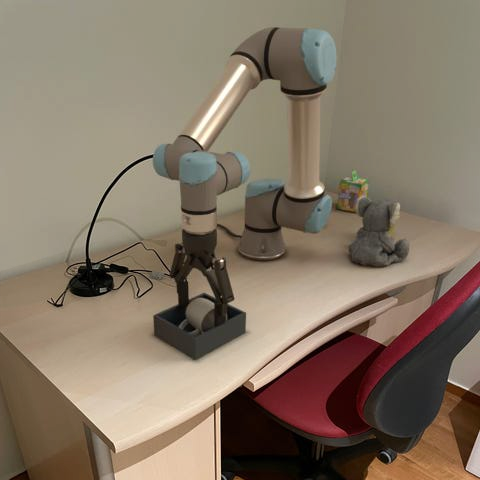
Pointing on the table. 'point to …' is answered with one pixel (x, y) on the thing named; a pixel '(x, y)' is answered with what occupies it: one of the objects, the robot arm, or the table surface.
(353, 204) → the chalk box
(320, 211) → the robot arm
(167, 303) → the table surface
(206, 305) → the ceramic mug
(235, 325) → the bin
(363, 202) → the koala plush
